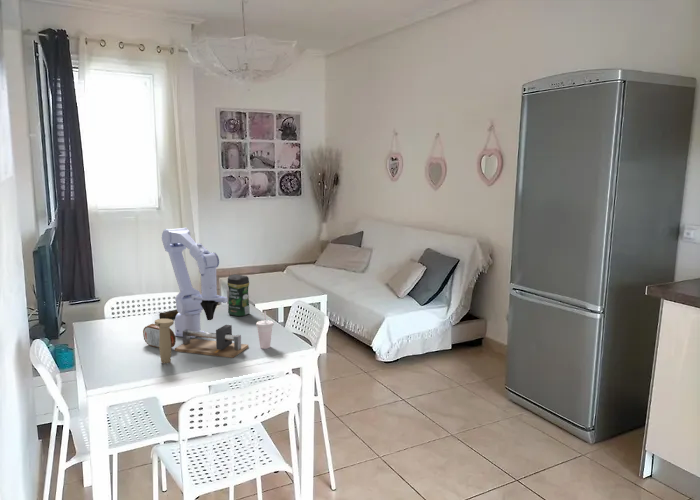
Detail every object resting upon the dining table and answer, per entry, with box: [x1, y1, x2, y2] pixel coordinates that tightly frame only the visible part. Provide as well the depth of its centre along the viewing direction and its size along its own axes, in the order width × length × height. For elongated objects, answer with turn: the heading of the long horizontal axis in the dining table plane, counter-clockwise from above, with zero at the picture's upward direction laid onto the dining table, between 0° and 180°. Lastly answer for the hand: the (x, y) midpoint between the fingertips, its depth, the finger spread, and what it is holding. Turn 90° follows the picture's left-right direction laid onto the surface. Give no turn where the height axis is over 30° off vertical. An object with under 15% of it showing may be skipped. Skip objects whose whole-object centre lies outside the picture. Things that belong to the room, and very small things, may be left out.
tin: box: [142, 323, 177, 349], centre depth 202 cm, size 15×3×8 cm, turn 61°
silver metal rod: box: [182, 329, 242, 351], centre depth 200 cm, size 23×2×5 cm, turn 74°
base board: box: [174, 338, 249, 359], centre depth 201 cm, size 24×12×1 cm, turn 74°
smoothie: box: [256, 311, 274, 350], centre depth 202 cm, size 6×6×14 cm
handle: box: [154, 318, 175, 365], centre depth 186 cm, size 5×6×15 cm
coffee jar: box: [227, 273, 251, 317], centre depth 246 cm, size 10×8×19 cm
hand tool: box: [158, 308, 179, 319], centre depth 244 cm, size 19×4×5 cm, turn 142°
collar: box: [215, 324, 233, 350], centre depth 198 cm, size 2×7×7 cm, turn 164°
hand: (210, 319), depth 206 cm, fingers closed
